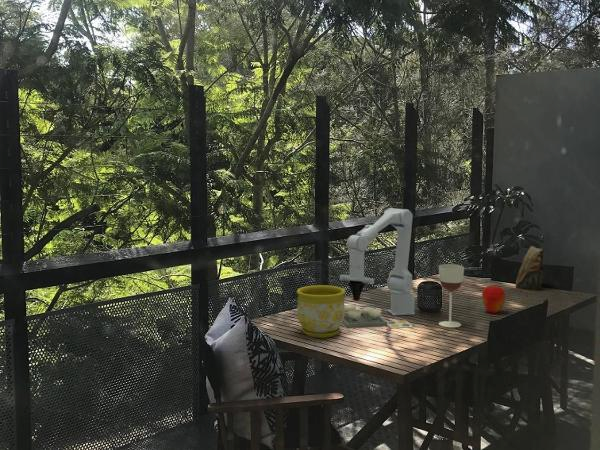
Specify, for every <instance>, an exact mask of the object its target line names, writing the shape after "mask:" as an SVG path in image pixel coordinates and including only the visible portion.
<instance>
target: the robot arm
mask: <svg viewBox="0 0 600 450" xmlns="http://www.w3.org/2000/svg"><path fill="white" fill-rule="evenodd" d="M413 216H414V215H413V213H412V212H411V211H410V210H409V209H408V208H407V209H406V208H405V209H404V208H393V207H389V208H387V209H386V210H384V211H383V215H382V216H380V218H378V219H377V220H376V221H375V222H374V223H373V224H365V225H364V227H363V228H362V229H361V230H359V231H357V233H355V234H352V235H350V236H349V237H348V238H347V242H346V247H347V250H348V253H349V274H341V275H339V281H345V282H346V281H347V282H348V284H347V285H348V288H349V289H350V291H351V293H352V297H353V301H356V302H358V301H360V300H361V299H360V298H361V295H362V291H363V289H364V287H365V285H366V284H368V285H375V278H371V277H367V276H365V251H366V250H367V248H368V245H369V244H370V243H371V242H372V241H373V240H374V239H376V238H377V237H378V236H379V232H380V231H382V230H384V229H385V228H386V227H387V226H389V225H391V226H392V227H394V228H395V229H396V230H397V240H396V249H395V259H394V268H393V269H392V270H390V272H389V274H388V275H389V276H388V278H387V281H386V286H387V288H388V289H389V292H390V309H387V312H388V313H390V314H391V315H392V316H406V315H409V316H411V315H416V312H415V303H416V302H415V294H414V293H413V292H412V289H413V288H414V287H413V286H414V283H413V275H412V273H411V272H410V271H409V270H408V267H409V266H408V265H409V257H410V247H411V237H412V230H413V229H412V227H413V226H412V225H413Z"/></svg>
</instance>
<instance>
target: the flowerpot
mask: <svg viewBox="0 0 600 450" xmlns="http://www.w3.org/2000/svg"><path fill="white" fill-rule="evenodd" d="M344 289H345V288H344ZM344 289H343V287H339V286H336V285H327V284H325V285H323V284H317V285H315V284H313V285H307V286H302V287H300V288H297V290H296V294H297V295H298V296H297V308H296V313H297V319H298V322H299V323H300V325H301V327H302V328H301V331H302V332H303V333H304V334H305V335H306V336H308V337H312V338H323V339H324V338H331V337H335V336H336V335H338V333H339V332H340V331H341V328H340V326H341V325H342V324H343V323H342V322H343V320H344V315H345V313H346V312H345V306H344V305H345V299H344V294H345V295H346V291H345V290H344Z"/></svg>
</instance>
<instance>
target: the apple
mask: <svg viewBox="0 0 600 450" xmlns="http://www.w3.org/2000/svg"><path fill="white" fill-rule="evenodd" d="M481 295H482V301H483V306H484V308H485V310H486V311H487V312H488V313H491V314H497V313H498V312H500V311H501V310H502V309H503V307H504V305H505V302H506V293H505V291H504V289H503V288H502V287H500V286H497V285H496V286H495V285H488V286H486V287H485V288H484V289H483V291H482V294H481Z"/></svg>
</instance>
